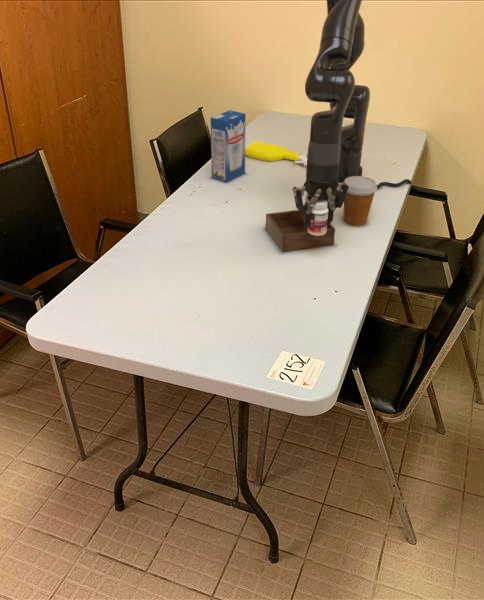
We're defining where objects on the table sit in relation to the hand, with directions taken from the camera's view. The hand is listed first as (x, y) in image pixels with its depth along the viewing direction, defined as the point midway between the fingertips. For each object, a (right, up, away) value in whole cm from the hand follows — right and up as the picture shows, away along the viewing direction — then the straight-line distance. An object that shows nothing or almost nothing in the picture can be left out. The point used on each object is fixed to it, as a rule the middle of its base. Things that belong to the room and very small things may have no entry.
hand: (317, 224), depth 149 cm
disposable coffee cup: (+14, +4, +23) cm, 27 cm away
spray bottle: (-5, +31, +64) cm, 71 cm away
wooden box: (-3, -2, +14) cm, 15 cm away
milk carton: (-23, +22, +50) cm, 60 cm away
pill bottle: (0, -2, +1) cm, 2 cm away
